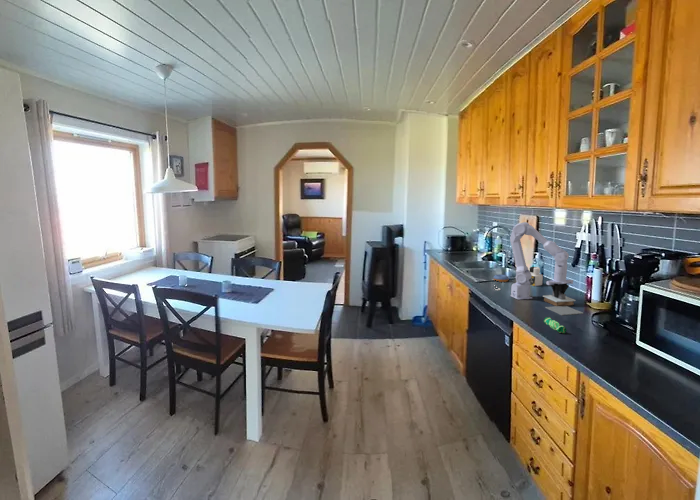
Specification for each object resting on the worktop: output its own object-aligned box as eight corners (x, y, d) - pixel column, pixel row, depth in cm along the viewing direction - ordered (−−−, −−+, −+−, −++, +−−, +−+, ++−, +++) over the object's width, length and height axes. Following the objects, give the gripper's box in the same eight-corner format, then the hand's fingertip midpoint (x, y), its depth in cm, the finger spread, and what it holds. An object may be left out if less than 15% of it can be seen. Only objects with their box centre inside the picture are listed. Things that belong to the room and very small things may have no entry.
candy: (568, 331, 149) (563, 324, 149) (561, 336, 150) (556, 328, 149) (553, 322, 161) (548, 315, 161) (546, 326, 162) (542, 319, 161)
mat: (561, 315, 171) (561, 314, 171) (545, 307, 183) (545, 307, 183) (583, 313, 173) (583, 313, 173) (565, 306, 185) (565, 305, 184)
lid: (556, 303, 184) (557, 296, 183) (542, 297, 194) (543, 290, 194) (575, 302, 185) (575, 294, 184) (560, 296, 196) (560, 289, 195)
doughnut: (499, 277, 249) (499, 272, 248) (511, 281, 241) (511, 275, 239) (490, 281, 245) (490, 275, 244) (502, 284, 236) (502, 278, 235)
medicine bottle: (525, 284, 232) (526, 266, 230) (533, 282, 234) (534, 265, 232) (534, 286, 225) (535, 268, 223) (542, 285, 228) (543, 267, 226)
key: (494, 290, 219) (501, 291, 217) (494, 289, 218) (501, 289, 217) (491, 286, 230) (498, 286, 229) (491, 284, 230) (498, 285, 229)
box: (556, 306, 184) (556, 302, 184) (543, 301, 194) (544, 297, 194) (573, 305, 186) (573, 301, 185) (559, 300, 195) (560, 296, 195)
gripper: (553, 275, 182) (551, 299, 185) (578, 273, 184) (576, 298, 186) (544, 272, 189) (542, 296, 191) (568, 271, 191) (566, 294, 193)
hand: (558, 296), depth 189 cm, fingers closed on lid, 2 cm apart
